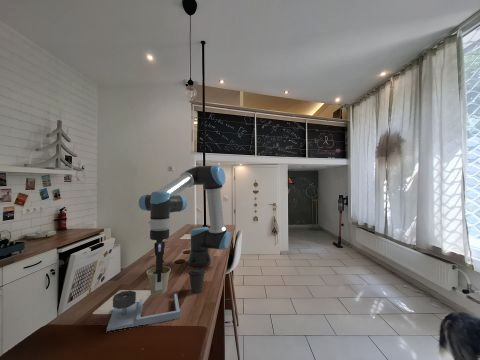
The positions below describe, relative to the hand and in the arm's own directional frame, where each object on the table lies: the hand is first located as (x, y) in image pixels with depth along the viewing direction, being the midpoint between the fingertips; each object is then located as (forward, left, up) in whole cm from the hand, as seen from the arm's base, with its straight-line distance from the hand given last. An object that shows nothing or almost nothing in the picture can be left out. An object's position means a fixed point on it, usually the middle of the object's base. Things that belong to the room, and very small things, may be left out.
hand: (158, 284), depth 91 cm
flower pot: (0, 0, -3) cm, 3 cm away
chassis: (+4, 0, -11) cm, 12 cm away
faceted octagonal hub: (+12, 0, -6) cm, 14 cm away
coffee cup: (-18, -13, -11) cm, 25 cm away
